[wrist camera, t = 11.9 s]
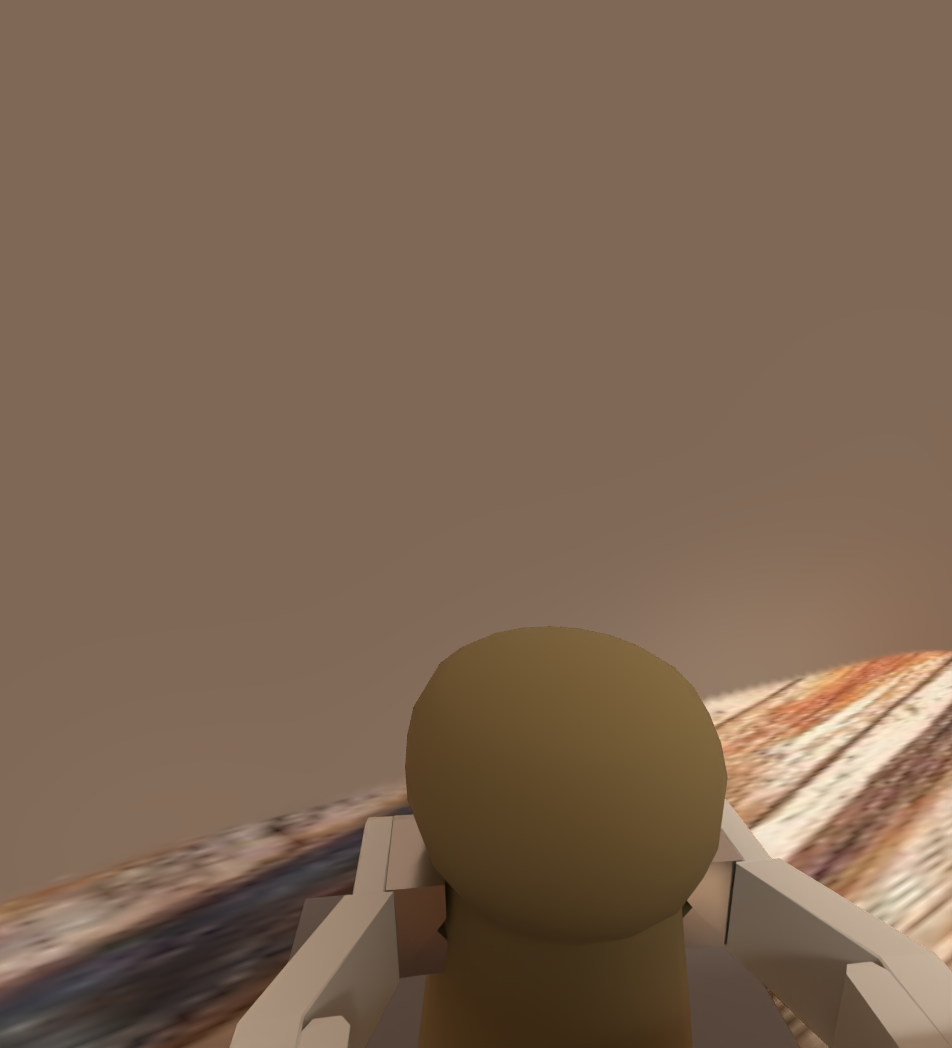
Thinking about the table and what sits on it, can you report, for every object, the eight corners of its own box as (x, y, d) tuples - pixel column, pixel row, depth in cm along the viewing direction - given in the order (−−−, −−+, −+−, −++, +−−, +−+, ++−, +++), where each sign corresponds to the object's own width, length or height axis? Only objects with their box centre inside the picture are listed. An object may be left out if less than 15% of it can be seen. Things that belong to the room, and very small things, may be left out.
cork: (515, 930, 15) (515, 577, 12) (740, 1106, 11) (802, 643, 8) (344, 1165, 10) (292, 675, 8) (629, 1608, 6) (697, 912, 4)
